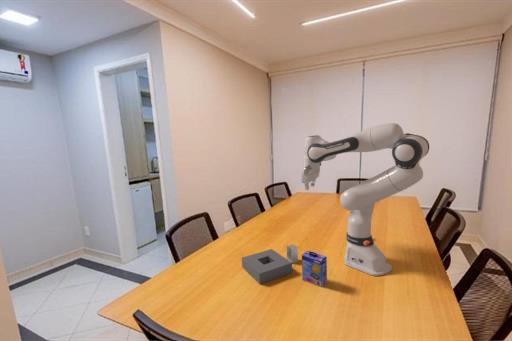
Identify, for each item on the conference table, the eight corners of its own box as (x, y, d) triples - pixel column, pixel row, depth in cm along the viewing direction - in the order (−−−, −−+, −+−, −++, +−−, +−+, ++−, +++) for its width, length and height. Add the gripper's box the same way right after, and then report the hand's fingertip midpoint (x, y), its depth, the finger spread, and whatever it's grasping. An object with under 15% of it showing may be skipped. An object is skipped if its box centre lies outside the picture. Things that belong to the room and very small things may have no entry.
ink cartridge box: (301, 280, 112) (301, 249, 110) (307, 274, 116) (306, 245, 114) (321, 287, 105) (321, 255, 104) (327, 282, 110) (327, 251, 108)
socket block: (292, 272, 118) (291, 262, 118) (259, 284, 110) (259, 273, 109) (271, 257, 134) (271, 248, 133) (242, 266, 125) (241, 257, 125)
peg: (297, 261, 129) (297, 247, 128) (291, 263, 127) (291, 248, 126) (293, 258, 132) (292, 244, 131) (286, 260, 130) (286, 246, 129)
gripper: (310, 167, 129) (308, 193, 132) (322, 162, 146) (320, 184, 149) (299, 166, 132) (297, 191, 135) (311, 161, 149) (310, 183, 152)
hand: (309, 187), depth 142 cm, fingers open, 8 cm apart
